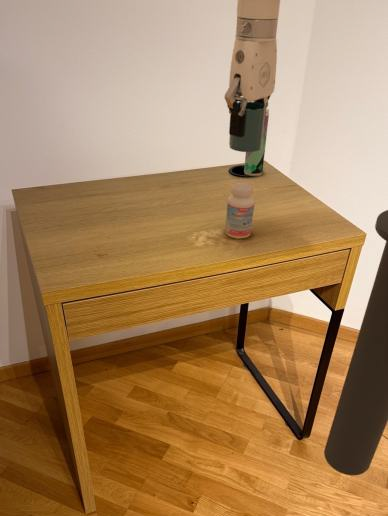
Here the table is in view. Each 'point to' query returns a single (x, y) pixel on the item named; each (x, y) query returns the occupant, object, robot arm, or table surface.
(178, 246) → the table surface
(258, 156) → the spray can
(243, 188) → the pill bottle
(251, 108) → the cup
